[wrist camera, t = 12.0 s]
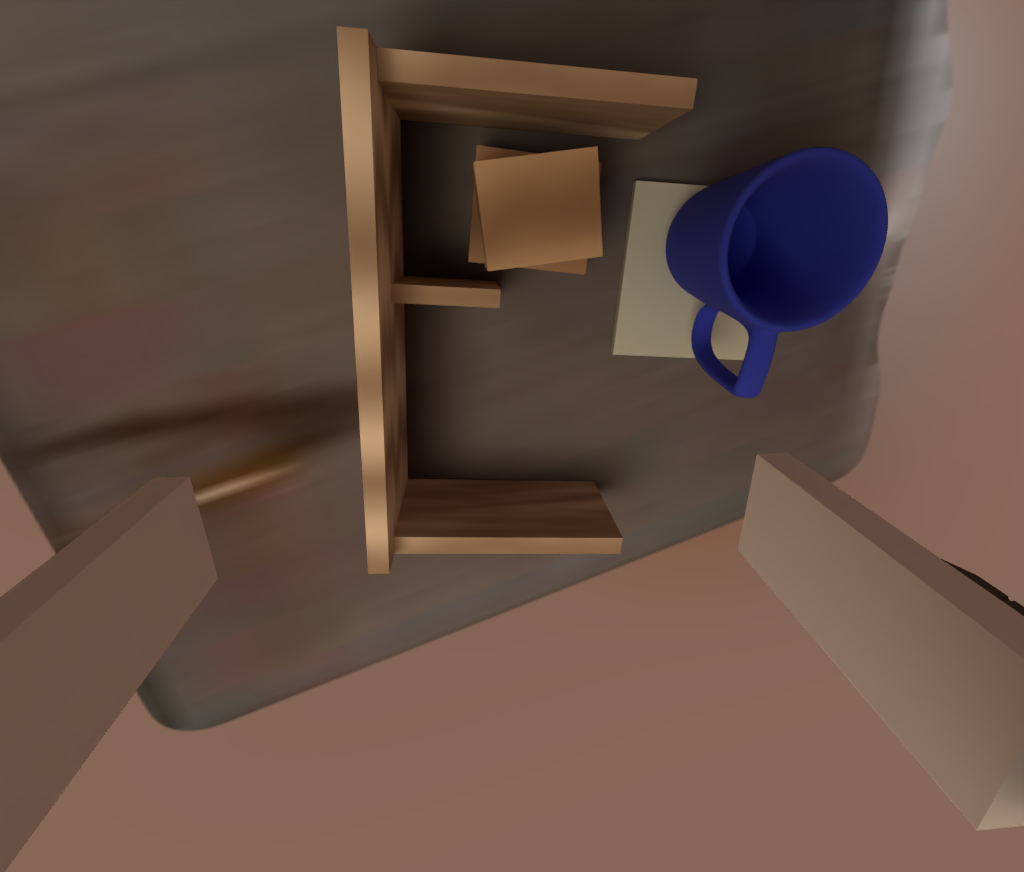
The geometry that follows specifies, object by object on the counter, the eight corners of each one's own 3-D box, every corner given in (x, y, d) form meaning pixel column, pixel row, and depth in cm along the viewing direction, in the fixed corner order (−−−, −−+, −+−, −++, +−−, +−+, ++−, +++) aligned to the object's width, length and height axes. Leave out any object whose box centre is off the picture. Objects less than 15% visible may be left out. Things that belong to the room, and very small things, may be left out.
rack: (378, 94, 29) (336, 26, 20) (641, 117, 30) (718, 64, 21) (392, 492, 38) (368, 573, 29) (591, 494, 40) (629, 572, 31)
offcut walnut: (475, 156, 31) (476, 145, 27) (586, 171, 31) (602, 162, 28) (468, 258, 33) (468, 261, 29) (572, 270, 34) (584, 274, 30)
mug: (626, 355, 35) (682, 398, 26) (665, 164, 31) (749, 132, 22) (734, 366, 36) (826, 411, 27) (787, 182, 32) (918, 160, 23)
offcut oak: (472, 171, 27) (473, 161, 24) (579, 158, 28) (597, 146, 24) (485, 267, 29) (488, 271, 26) (585, 253, 29) (602, 256, 26)
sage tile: (633, 181, 32) (636, 180, 31) (795, 193, 33) (801, 192, 32) (610, 352, 36) (612, 354, 35) (756, 358, 37) (760, 360, 36)
